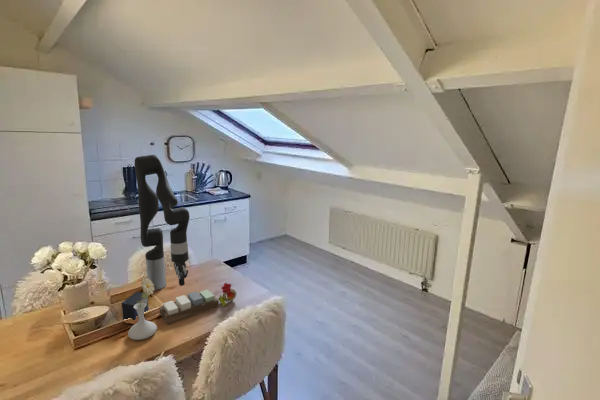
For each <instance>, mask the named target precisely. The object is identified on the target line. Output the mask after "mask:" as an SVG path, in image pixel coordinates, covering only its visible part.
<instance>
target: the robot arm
mask: <svg viewBox="0 0 600 400" xmlns="http://www.w3.org/2000/svg"><path fill="white" fill-rule="evenodd" d="M160 159H161V158H159V156H157V155H156V154H149V155H142V156H141V155H140V156H137V157H135V159H134V171H135V177H136V178H135V179H136V183H137V194H138V195H137V196H138V210H139V220H140V242H141V243H140V244H141V246H142V247H144V248H147V247H153V248H152V249H150V250H148V251H147V252H146V253H145V265H146V275H147V278H148V279H150V280H151V281H152V284H154V286H153V287H154V291H155V290H156V291H157V290H161V289H164V288H165V287H166V286H167V279H166V278H167V274H166V264H165V251H164V234H163V230H162V228H161V227H157V228H156V227H155V228H149V225H150V224H151V222H153V219H154V218H155V217H156V215H157V213H158V212H159V209H160V205H161V207H162V212H163V218H164V221H165V223H166V224H167V225H169V226H175V225H176V227H174V228H172V229H170V231H169V235H170V236H169V238H170V239H169V240H170V258H171V259H170V260H171V262H172V263H173V268H174V270H175V274H176V276H177V278H178V285H179V286H180V287H182V286H184V285H185V284H186V283H185V279H186V278H187V276H188V274H189V270H188V269H186V268H187V264H186V262H187V261H189V245H188V237H187V236H188V235H187V233H188V225H189V222H190V212H189V210H188V208H186V207H185V206H184V207H182V206H181V207H178V208H177V207H176V206H177V205H178V203H179V202H178V201H179V200H178V198H177V197H176V194H175V193H174V192H173V189H172V188H171V186H170V183H169V181H168V178H167V174H166V171H165V170H164V169H165V168H164V167H163V164H162V162H161V160H160ZM151 175H157V180H158V181H157V185H156V189H155V191H154V190H153V189H152V188H151V186H150V185H149V184H148V183H147V180H146V176H151ZM159 203H160V205H159ZM175 207H176V208H175Z"/></svg>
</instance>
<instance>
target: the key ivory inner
mask: <svg viewBox="0 0 600 400" xmlns="http://www.w3.org/2000/svg"><path fill="white" fill-rule="evenodd" d="M175 302H176V305H177V306H178V307H179V309H180V310H181V311H184V310H187V309H190V308H191V301H190V300H189V299H188V296H186V295H185V294H183V295H180V296H176V297H175Z"/></svg>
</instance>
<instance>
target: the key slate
mask: <svg viewBox="0 0 600 400" xmlns="http://www.w3.org/2000/svg"><path fill="white" fill-rule="evenodd" d="M187 298H188V299H189V300H190V301H191V304H192V305H193V306H194V307H196V306H199V305H202V304H203V297H202V296H201V295H200V292H198V291H193V292H190V293H187Z"/></svg>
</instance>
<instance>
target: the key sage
mask: <svg viewBox="0 0 600 400" xmlns="http://www.w3.org/2000/svg"><path fill="white" fill-rule="evenodd" d="M199 294H200V295H201V296H202V297H203V300H204V301H205V302H206V303H207V302H210V301H213V300H215V297H216V296H215V294H213V292H212V291H210V290H209V289H204V290H200V291H199Z"/></svg>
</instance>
